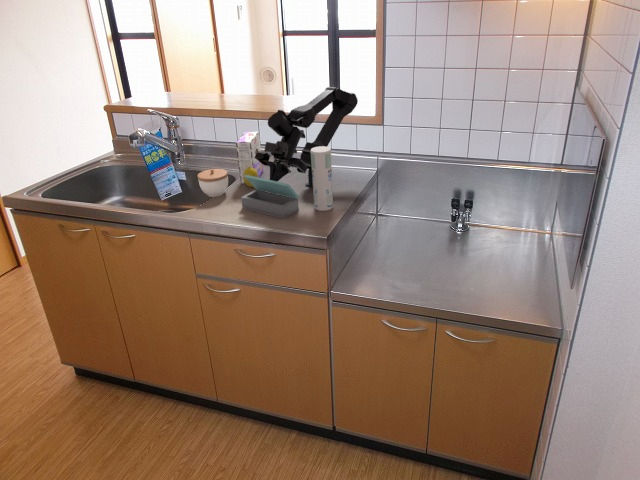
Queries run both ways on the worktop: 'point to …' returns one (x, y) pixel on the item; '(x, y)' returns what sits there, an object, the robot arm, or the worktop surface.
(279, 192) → the lid
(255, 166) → the candy box
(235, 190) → the worktop surface
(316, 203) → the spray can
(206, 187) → the lidded jar
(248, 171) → the lemon
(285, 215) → the grey rectangular box
